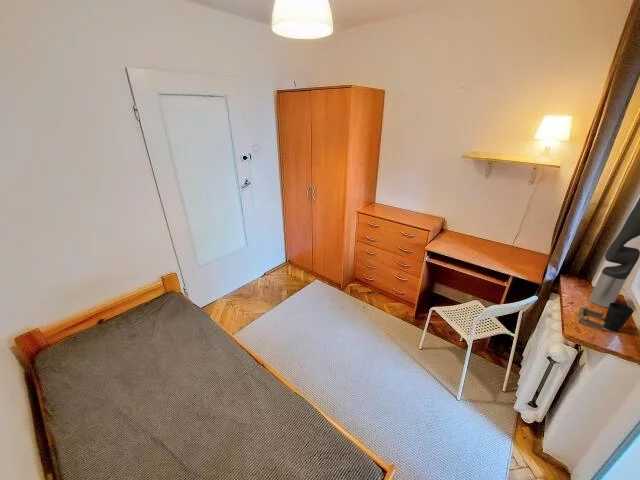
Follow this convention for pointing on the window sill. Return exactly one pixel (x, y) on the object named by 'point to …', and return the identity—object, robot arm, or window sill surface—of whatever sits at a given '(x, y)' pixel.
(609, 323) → the cup
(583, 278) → the window sill surface
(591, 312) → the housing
